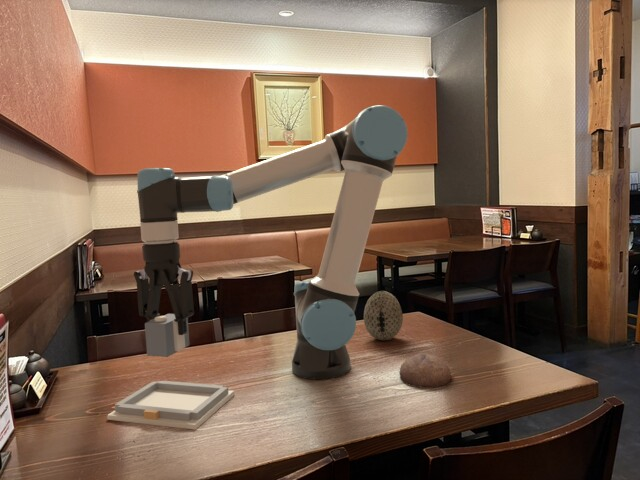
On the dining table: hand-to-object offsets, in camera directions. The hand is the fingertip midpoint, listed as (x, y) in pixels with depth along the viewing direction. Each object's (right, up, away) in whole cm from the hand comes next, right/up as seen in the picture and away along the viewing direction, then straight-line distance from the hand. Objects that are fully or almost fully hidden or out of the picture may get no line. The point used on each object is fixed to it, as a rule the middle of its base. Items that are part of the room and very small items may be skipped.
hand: (168, 348), depth 98 cm
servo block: (0, 0, 0) cm, 0 cm away
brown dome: (+58, -10, +9) cm, 59 cm away
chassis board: (+1, -13, +1) cm, 13 cm away
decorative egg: (+52, -7, +40) cm, 66 cm away
